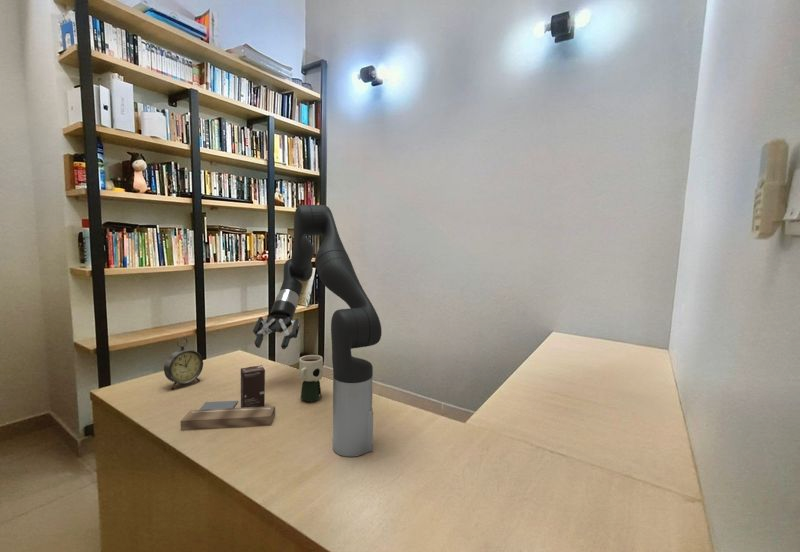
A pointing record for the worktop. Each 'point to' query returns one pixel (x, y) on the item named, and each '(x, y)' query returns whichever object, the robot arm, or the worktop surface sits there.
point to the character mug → (310, 376)
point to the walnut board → (228, 418)
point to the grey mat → (219, 405)
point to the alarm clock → (183, 366)
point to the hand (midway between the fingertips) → (270, 347)
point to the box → (253, 387)
